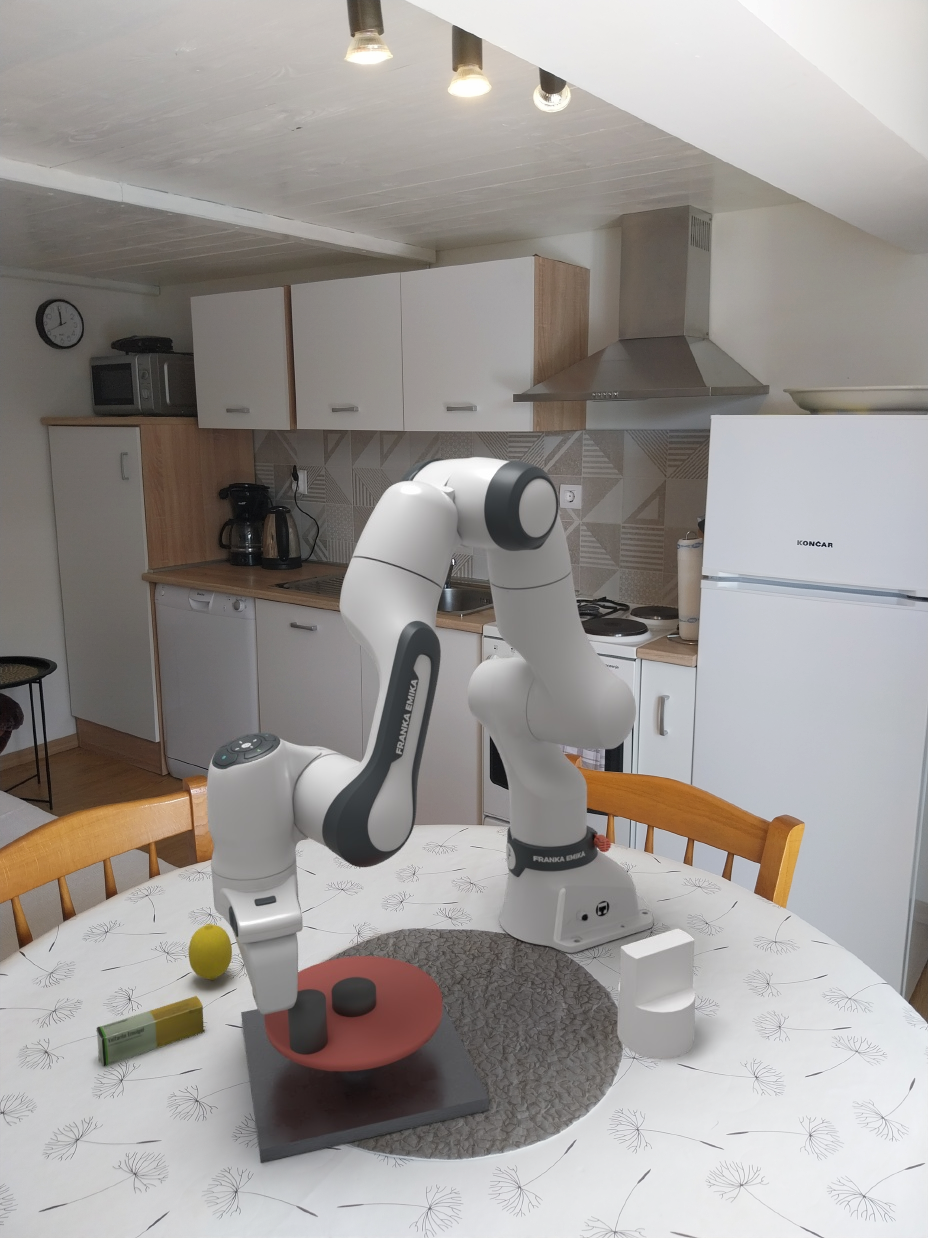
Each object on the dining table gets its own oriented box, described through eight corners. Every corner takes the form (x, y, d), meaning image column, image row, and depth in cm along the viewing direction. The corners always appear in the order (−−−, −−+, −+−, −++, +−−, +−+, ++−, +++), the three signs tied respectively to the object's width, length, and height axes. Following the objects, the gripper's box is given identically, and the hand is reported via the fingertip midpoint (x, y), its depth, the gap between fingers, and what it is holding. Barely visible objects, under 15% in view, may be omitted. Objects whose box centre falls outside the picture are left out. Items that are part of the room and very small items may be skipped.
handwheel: (339, 949, 122) (337, 904, 121) (474, 994, 112) (474, 945, 111) (226, 1034, 105) (223, 983, 104) (374, 1095, 95) (372, 1040, 94)
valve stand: (430, 987, 124) (429, 945, 123) (489, 1110, 102) (488, 1059, 101) (241, 1023, 118) (238, 978, 116) (260, 1163, 95) (257, 1109, 94)
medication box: (102, 1070, 110) (99, 1039, 109) (97, 1057, 112) (94, 1026, 111) (205, 1034, 116) (203, 1004, 115) (198, 1022, 118) (196, 993, 117)
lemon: (222, 993, 124) (218, 937, 122) (183, 989, 125) (178, 933, 123) (240, 970, 129) (237, 916, 128) (202, 966, 130) (198, 912, 129)
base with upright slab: (648, 1068, 108) (651, 972, 106) (602, 1025, 116) (603, 935, 114) (709, 1044, 112) (713, 951, 110) (661, 1004, 120) (663, 917, 118)
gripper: (211, 852, 110) (220, 961, 113) (241, 938, 92) (250, 1066, 94) (266, 843, 113) (273, 950, 115) (306, 924, 94) (313, 1049, 97)
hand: (263, 1003), depth 105 cm, fingers closed
